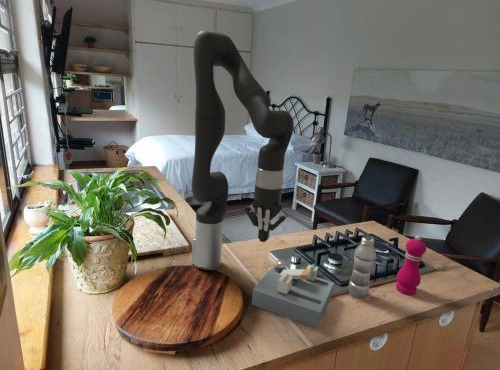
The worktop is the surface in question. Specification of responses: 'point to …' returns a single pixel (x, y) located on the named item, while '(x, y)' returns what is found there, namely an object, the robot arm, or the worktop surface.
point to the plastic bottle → (362, 268)
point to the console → (294, 298)
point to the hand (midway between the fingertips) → (263, 240)
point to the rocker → (297, 273)
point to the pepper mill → (411, 267)
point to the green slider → (312, 272)
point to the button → (281, 265)
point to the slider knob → (284, 283)
